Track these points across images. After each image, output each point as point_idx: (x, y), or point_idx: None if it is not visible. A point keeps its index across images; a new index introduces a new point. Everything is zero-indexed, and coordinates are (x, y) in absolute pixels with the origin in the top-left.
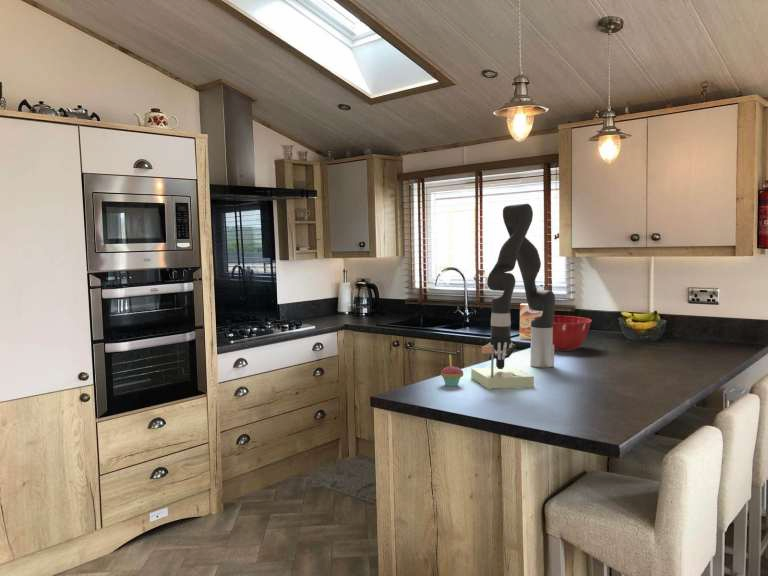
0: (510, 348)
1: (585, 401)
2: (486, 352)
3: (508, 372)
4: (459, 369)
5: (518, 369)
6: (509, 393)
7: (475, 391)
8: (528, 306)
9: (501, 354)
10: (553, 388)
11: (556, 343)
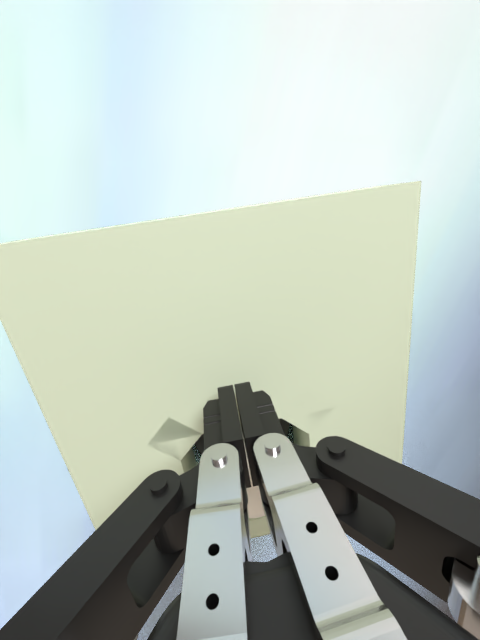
0: (455, 557)
1: (440, 608)
2: None
3: (263, 512)
4: None
5: (401, 313)
6: None
7: (60, 547)
8: None
9: (280, 487)
10: (439, 473)
11: None
